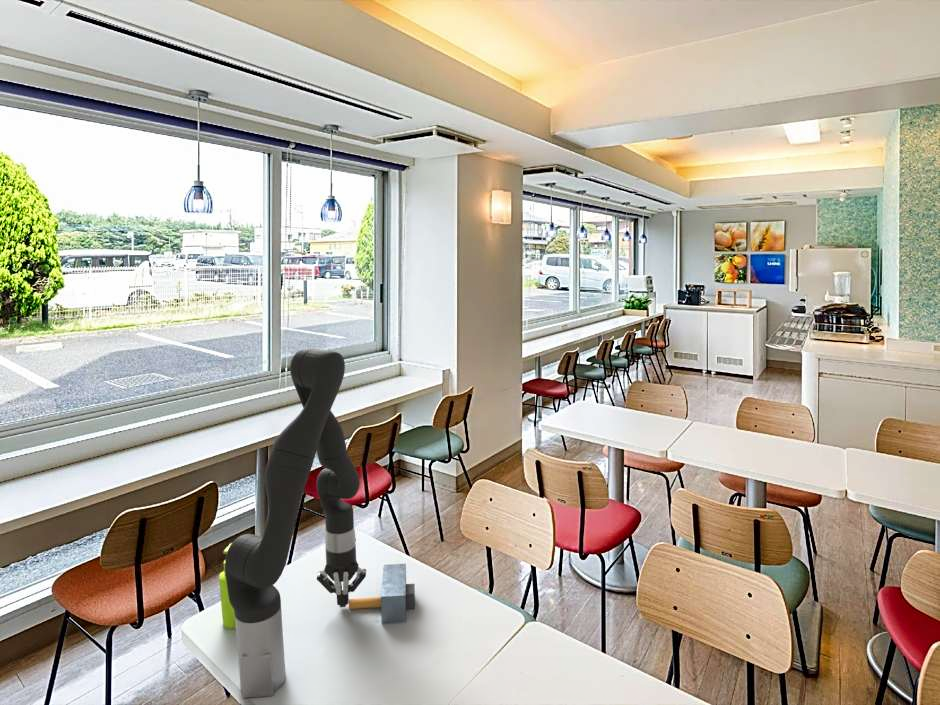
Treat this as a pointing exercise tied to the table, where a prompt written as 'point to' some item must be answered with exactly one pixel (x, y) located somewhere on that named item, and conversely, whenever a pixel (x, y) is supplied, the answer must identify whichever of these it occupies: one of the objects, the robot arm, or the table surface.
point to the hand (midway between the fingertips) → (343, 605)
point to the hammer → (377, 600)
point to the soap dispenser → (226, 600)
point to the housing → (393, 594)
